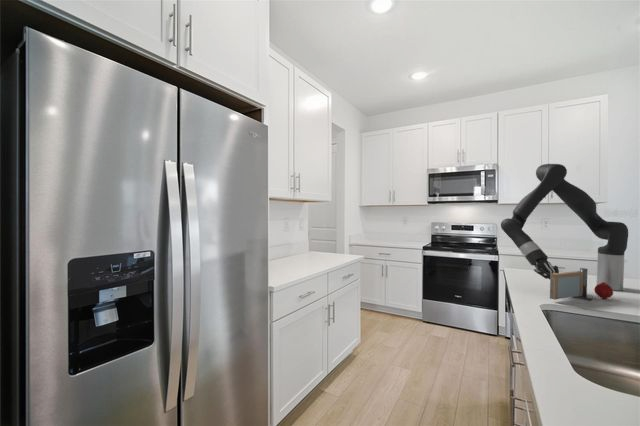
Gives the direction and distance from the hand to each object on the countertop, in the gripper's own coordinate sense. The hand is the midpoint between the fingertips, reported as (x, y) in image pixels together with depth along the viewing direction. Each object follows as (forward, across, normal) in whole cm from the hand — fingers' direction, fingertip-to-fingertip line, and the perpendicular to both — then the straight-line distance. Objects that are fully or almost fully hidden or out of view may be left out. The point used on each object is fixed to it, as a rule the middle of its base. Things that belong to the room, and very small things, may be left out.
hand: (560, 286), depth 122 cm
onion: (+8, +19, 0) cm, 21 cm away
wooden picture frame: (+4, +2, +2) cm, 5 cm away
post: (+5, +13, +3) cm, 14 cm away
